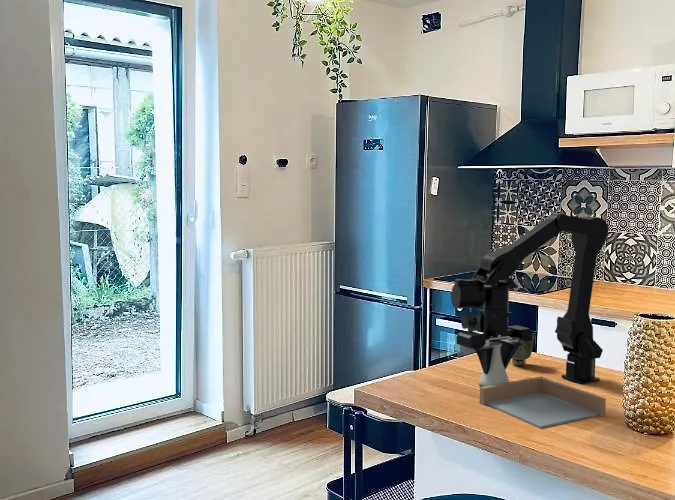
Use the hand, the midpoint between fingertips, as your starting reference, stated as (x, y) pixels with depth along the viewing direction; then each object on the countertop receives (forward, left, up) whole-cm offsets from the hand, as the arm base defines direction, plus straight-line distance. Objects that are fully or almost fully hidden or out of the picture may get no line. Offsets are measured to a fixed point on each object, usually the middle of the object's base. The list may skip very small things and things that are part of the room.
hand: (494, 372), depth 152 cm
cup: (-18, -11, -3) cm, 21 cm away
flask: (0, 0, -3) cm, 3 cm away
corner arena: (+3, +18, -3) cm, 18 cm away
